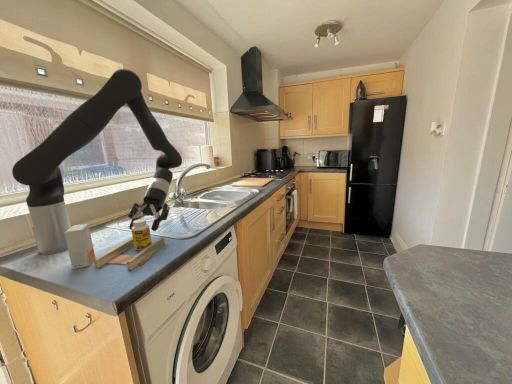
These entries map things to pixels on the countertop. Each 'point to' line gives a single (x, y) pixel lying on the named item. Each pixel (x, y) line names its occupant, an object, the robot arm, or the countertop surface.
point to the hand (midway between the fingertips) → (142, 230)
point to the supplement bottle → (141, 234)
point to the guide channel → (129, 260)
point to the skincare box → (80, 246)
